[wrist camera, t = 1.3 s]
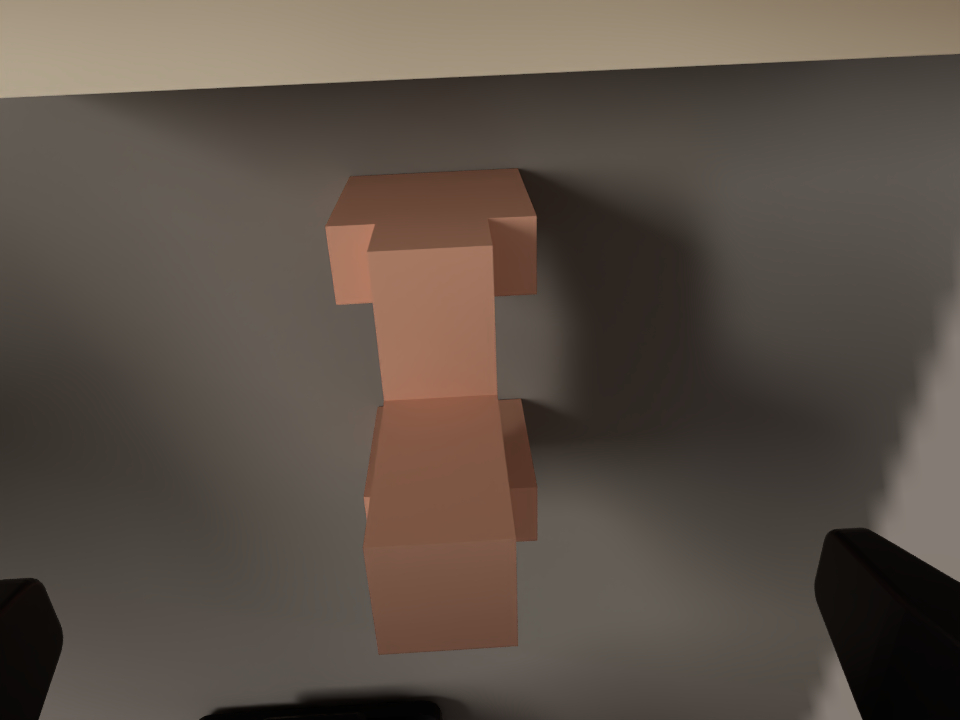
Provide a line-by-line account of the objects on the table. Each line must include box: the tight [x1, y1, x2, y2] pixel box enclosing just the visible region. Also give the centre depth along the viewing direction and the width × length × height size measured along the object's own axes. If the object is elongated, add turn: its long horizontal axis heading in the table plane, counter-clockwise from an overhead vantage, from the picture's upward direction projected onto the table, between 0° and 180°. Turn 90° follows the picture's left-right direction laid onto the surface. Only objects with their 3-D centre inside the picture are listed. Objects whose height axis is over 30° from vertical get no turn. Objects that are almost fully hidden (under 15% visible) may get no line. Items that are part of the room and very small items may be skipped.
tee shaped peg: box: [325, 168, 537, 655], centre depth 11 cm, size 6×3×7 cm, turn 2°
